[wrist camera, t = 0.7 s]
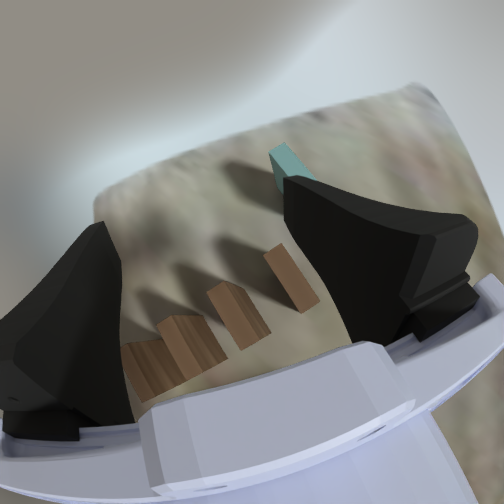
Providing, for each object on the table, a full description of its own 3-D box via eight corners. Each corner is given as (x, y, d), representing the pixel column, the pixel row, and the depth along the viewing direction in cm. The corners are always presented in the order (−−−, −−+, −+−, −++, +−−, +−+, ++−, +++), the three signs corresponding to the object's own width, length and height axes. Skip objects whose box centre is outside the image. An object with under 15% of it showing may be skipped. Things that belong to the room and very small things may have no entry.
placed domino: (289, 179, 29) (284, 142, 22) (318, 216, 28) (321, 185, 21) (277, 187, 29) (268, 151, 22) (305, 224, 28) (304, 196, 21)
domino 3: (244, 288, 27) (223, 280, 21) (271, 332, 26) (259, 339, 19) (230, 297, 27) (206, 292, 21) (257, 341, 26) (240, 350, 19)
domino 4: (287, 260, 27) (281, 242, 20) (316, 304, 26) (320, 301, 19) (273, 269, 27) (262, 255, 21) (302, 313, 26) (300, 313, 19)
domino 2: (202, 315, 28) (171, 315, 21) (228, 358, 26) (203, 372, 19) (190, 323, 28) (155, 324, 21) (214, 365, 26) (186, 380, 20)
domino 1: (165, 338, 28) (127, 343, 21) (188, 380, 26) (155, 396, 20) (154, 345, 28) (115, 351, 21) (177, 385, 26) (142, 402, 20)
